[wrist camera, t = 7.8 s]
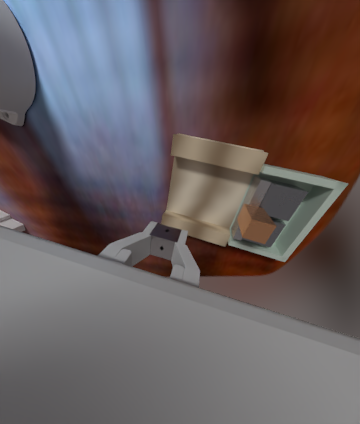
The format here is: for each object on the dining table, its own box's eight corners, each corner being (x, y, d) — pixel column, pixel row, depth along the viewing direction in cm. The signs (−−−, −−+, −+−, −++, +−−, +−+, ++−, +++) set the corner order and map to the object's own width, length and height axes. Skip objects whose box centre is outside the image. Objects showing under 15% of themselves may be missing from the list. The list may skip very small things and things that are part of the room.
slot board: (166, 219, 26) (160, 227, 24) (179, 133, 19) (173, 131, 17) (223, 237, 25) (224, 247, 22) (261, 150, 18) (269, 151, 15)
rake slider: (227, 227, 22) (231, 258, 16) (250, 174, 18) (267, 188, 12) (242, 231, 22) (251, 264, 16) (268, 178, 18) (296, 195, 12)
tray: (226, 230, 24) (228, 244, 21) (256, 162, 18) (265, 165, 15) (274, 244, 23) (284, 262, 20) (322, 176, 17) (348, 183, 14)
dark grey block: (251, 204, 20) (256, 212, 17) (263, 178, 18) (271, 183, 16) (279, 211, 20) (288, 221, 17) (295, 185, 18) (308, 191, 15)
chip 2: (239, 228, 22) (242, 239, 20) (249, 207, 20) (254, 216, 18) (264, 235, 22) (270, 247, 19) (276, 214, 20) (285, 225, 17)
